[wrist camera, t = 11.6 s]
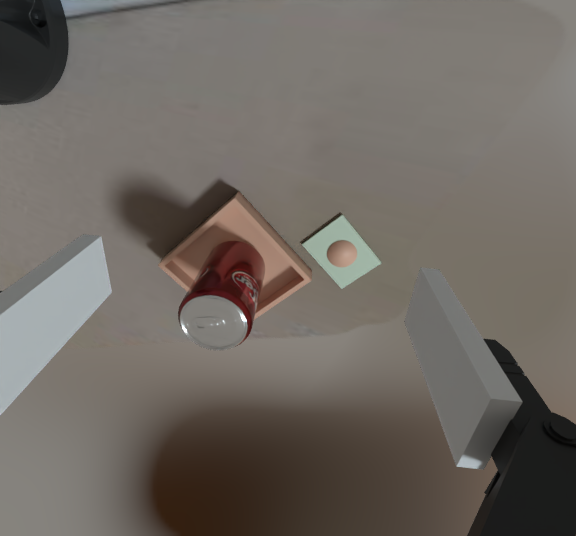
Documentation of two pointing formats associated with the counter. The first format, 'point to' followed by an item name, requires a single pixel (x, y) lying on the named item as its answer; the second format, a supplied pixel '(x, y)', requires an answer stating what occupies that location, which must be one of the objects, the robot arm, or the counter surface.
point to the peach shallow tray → (249, 229)
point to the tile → (341, 252)
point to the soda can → (223, 297)
